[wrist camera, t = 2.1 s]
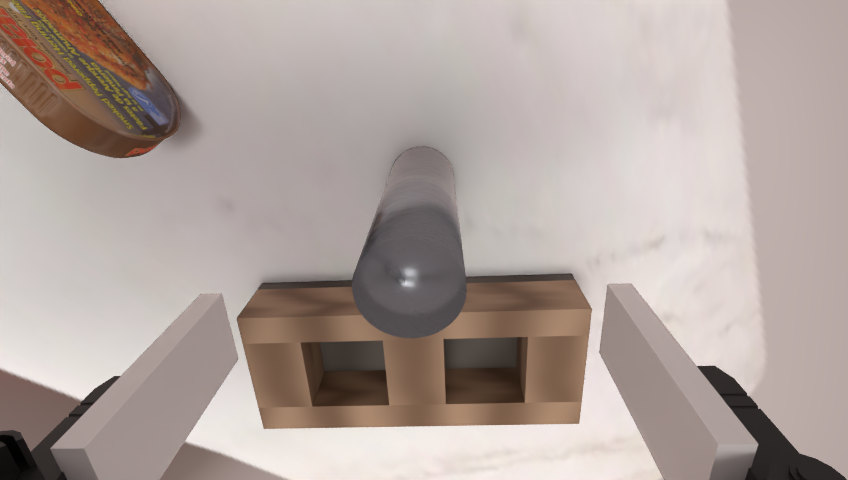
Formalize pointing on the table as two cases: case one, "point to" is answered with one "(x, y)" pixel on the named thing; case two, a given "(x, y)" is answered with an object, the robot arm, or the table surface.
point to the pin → (413, 251)
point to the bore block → (419, 357)
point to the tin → (84, 76)
